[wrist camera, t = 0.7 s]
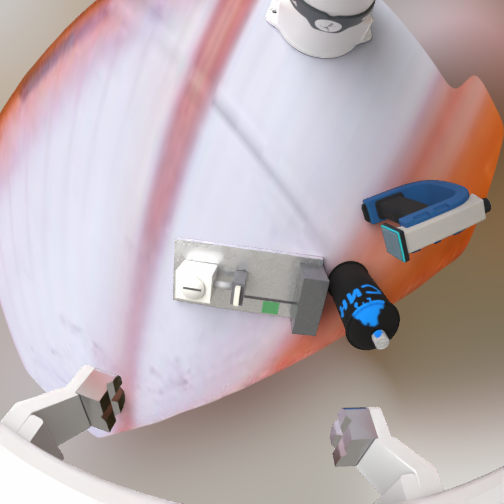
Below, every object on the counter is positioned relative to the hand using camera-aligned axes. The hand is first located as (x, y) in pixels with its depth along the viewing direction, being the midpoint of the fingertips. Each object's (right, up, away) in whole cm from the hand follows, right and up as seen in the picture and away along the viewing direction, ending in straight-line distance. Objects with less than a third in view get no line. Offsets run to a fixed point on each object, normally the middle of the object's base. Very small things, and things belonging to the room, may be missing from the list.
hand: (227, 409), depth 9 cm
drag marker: (-1, 0, +42) cm, 42 cm away
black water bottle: (+19, 0, +43) cm, 47 cm away
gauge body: (-7, +1, +42) cm, 43 cm away
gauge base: (0, +1, +44) cm, 44 cm away
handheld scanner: (+26, +15, +38) cm, 48 cm away
